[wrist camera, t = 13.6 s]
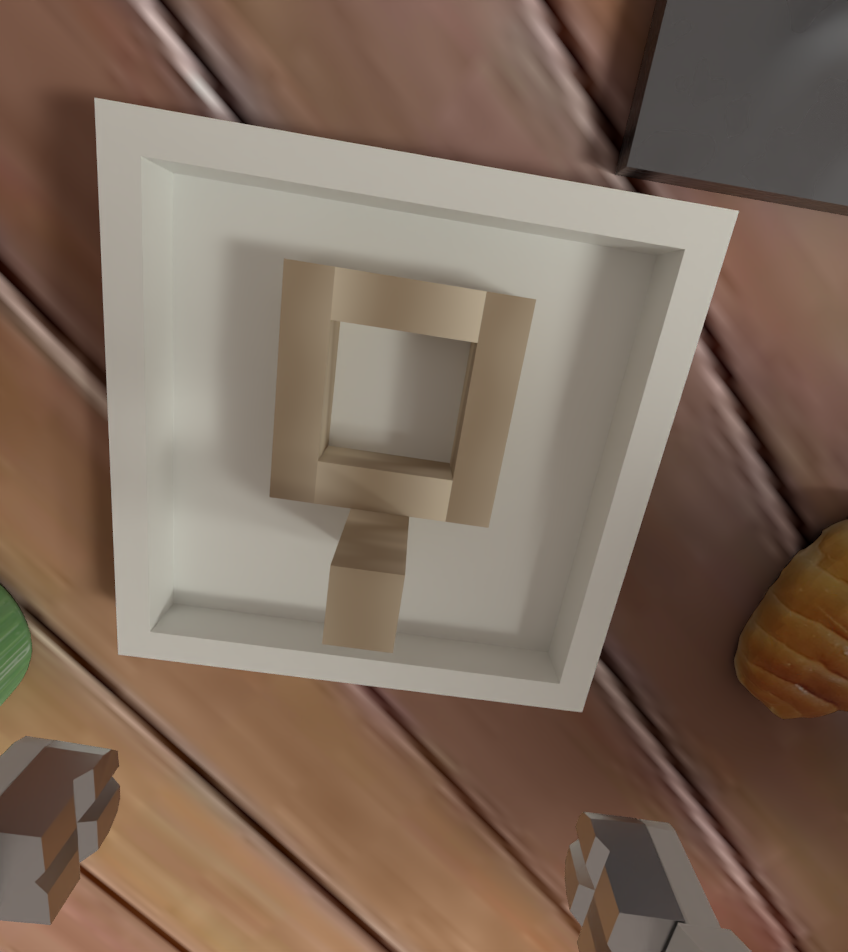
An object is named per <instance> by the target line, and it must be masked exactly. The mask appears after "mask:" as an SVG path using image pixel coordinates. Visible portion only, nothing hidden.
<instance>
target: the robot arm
mask: <svg viewBox="0 0 848 952" xmlns="http://www.w3.org/2000/svg"><path fill="white" fill-rule="evenodd" d="M118 767H119V760H118V751H116V750H112V749H106V748H100V747H94V746H88V745H82V744H76V743H69V742H63V741H57V740H49V739H43V738H36V737H30V736H25V737H23V738H22V739H20V740H18V741H16V742H14V743H13V744H12V745H11V746H10V747H9V748H8V749H7V750H6V751H5V752H4V753H3V754H2V755H1V756H0V920H2V921H13V922H24V923H35V924H46V925H51V924H52V922H53V920H54V919H55V917H56V916H57V914H58V913H59V911H60V909H61V908H62V906H63V905H64V903H65V902H66V900H67V898H68V897H69V895H70V894H71V892H72V890H73V889H74V887H75V886H76V884H77V883H78V881H79V879H80V862H81V861H83V860H84V859H86V858H87V857H88V856H90V855H91V854H93V853H94V852H96V851H97V850H98V849H99V848H100V846H101V844H102V843H103V841H104V839H105V838H106V836H107V834H108V833H109V831H110V828H111V826H112V824H113V821H114V819H115V816H116V814H117V811H118V806H119V801H120V785H119V784H118V783H117V782H116V781H115V779H114V778H113V777H112V775H113V774H114V773H115V771H116V770H117V768H118ZM576 831H577V835H578V840H577V841H575V842H574V843H572V844H571V845H570V846H569V849H568V852H567V856H566V860H565V887H566V895H567V900H568V904H569V909H570V912H571V913H572V914H573V916H574V917H575V918H576V920H577V921H578V922H579V923H580V925H581V926H582V929H581V932H580V935H579V937H578V940H577V945H578V949H579V952H752V951H751V950H750V949H749V948H748V947H747V946H746V945H745V944H744V943H743V942H742V941H741V940H740V939H739V938H738V937H737V936H736V935H735V934H734V933H733V932H732V931H731V930H729V929H723V928H721V927H720V925H719V923H718V921H717V919H716V916H715V914H714V912H713V910H712V908H711V906H710V904H709V902H708V899H707V897H706V895H705V893H704V891H703V889H702V887H701V885H700V882H699V880H698V878H697V876H696V874H695V872H694V870H693V868H692V865H691V863H690V861H689V859H688V857H687V855H686V853H685V851H684V848H683V846H682V844H681V842H680V840H679V838H678V836H677V834H676V832H675V829H674V828H673V827H672V826H671V825H670V824H669V823H665V822H657V821H650V820H642V819H639V820H638V819H637V818H631V817H622V816H614V815H606V814H597V813H589V812H583V813H582V814H581V815H580V816H579V818H578V821H577V824H576Z"/></svg>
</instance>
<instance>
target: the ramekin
mask: <svg viewBox="0 0 848 952" xmlns="http://www.w3.org/2000/svg"><path fill="white" fill-rule="evenodd" d="M31 653H32V642H31V634H30V631H29V628H28V625H27V622H26V620H25V617H24V615H23V613H22V611H21V610H20V608H19V606H18V605H17V603H16V602H15V601H14V599H13V598H12V597H11V595H10V594H9V593H8V592H7V591H6V590H5V589H4V588H3V587H2V586H1V585H0V706H1V705H2V704H3V702H4V701H5V700H6V699H7V698H8V697H9V696H10V694H11V693H12V692H13V691H14V690H15V689H16V687H17V686H18V685H19V683H20V682H21V680H22V679H23V677H24V675H25V673H26V671H27V669H28V666H29V662H30V659H31Z"/></svg>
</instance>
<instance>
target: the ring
mask: <svg viewBox="0 0 848 952" xmlns="http://www.w3.org/2000/svg"><path fill="white" fill-rule="evenodd" d="M535 303H536V299H531V298H524V297H518V296H512V295H506V294H500V293H494V292H488V291H481V290H475V289H469V288H463V287H457V286H451V285H445V284H438V283H432V282H426V281H420V280H414V279H408V278H401V277H395V276H389V275H383V274H377V273H371V272H365V271H358V270H352V269H346V268H340V267H334V266H328V265H321V264H315V263H309V262H303V261H297V260H291V259H285V258H284V263H283V279H282V296H281V312H280V329H279V346H278V362H277V379H276V395H275V412H274V429H273V445H272V462H271V478H270V495H269V497H272V498H279V499H286V500H294V501H301V502H308V503H315V504H322V505H329V506H336V507H344V508H351V509H350V512H349V515H348V518H347V520H346V523H345V526H344V529H343V532H342V534H341V537H340V540H339V543H338V545H337V548H336V551H335V554H334V557H333V559H332V562H331V565H330V573H329V583H328V592H327V602H326V611H325V621H324V630H323V640H322V644H324V645H332V646H340V647H348V648H356V649H364V650H371V651H379V652H387V653H393V649H394V642H395V636H396V630H397V623H398V617H399V611H400V605H401V598H402V592H403V586H404V579H405V570H406V555H407V541H408V526H409V517H415V518H422V519H429V520H436V521H444V522H451V523H458V524H465V525H472V526H479V527H486V528H489V523H490V518H491V513H492V508H493V504H494V499H495V494H496V489H497V485H498V480H499V475H500V470H501V466H502V461H503V456H504V451H505V446H506V442H507V437H508V432H509V427H510V423H511V418H512V413H513V408H514V403H515V399H516V394H517V389H518V384H519V380H520V375H521V370H522V365H523V360H524V356H525V351H526V346H527V341H528V337H529V332H530V327H531V322H532V317H533V313H534V308H535ZM340 321H341V322H347V323H354V324H360V325H366V326H373V327H379V328H386V329H392V330H398V331H405V332H411V333H417V334H424V335H430V336H436V337H443V338H449V339H455V340H462V341H468V342H471V346H470V351H469V357H468V363H467V368H466V374H465V380H464V385H463V391H462V397H461V402H460V408H459V414H458V420H457V425H456V431H455V437H454V442H453V448H452V454H451V459H450V463H445V462H439V461H432V460H425V459H418V458H411V457H404V456H397V455H391V454H384V453H377V452H370V451H363V450H356V449H349V448H343V447H336V446H329V434H330V424H331V414H332V403H333V393H334V382H335V372H336V362H337V351H338V341H339V330H340Z"/></svg>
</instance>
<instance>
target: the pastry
mask: <svg viewBox="0 0 848 952" xmlns="http://www.w3.org/2000/svg"><path fill="white" fill-rule="evenodd" d="M734 666H735V670H736V674H737V677H738V680H739V681H740V682H741V684H743V685H744V686H745V687H746V688H747V690H748V691H749V692H750V693H751V694H752V695H753V696H754V697H756V698H757V699H758V700H760V701H761V702H762V703H763V704H764V705H765V706H766V707H767V708H768V709H769V710H770V711H771V712H773V713H774V714H775V715H777V716H778V717H780V718H782V719H791V718H800V717H804V718H813V717H820V716H824V715H827V714H830V713H833V712H836V711H838V710H843V711H848V519H846V520H843V521H840V522H838V523H835V524H833V525H831V526H829V527H828V528H826V529H824V530H823V531H822V535H821V536H820V537H819V538H818V539H817V540H816V541H815V542H814V543H812V544H811V545H810V546H808V547H807V548H805V549H803V550H800V551H799V552H798V553H797V554H796V555H795V556H794V558H793V559H792V560H791V562H790V563H789V564H788V565H787V566H786V567H785V568H784V569H783V570H782V571H781V575H780V577H779V578H778V580H777V581H776V582H775V583H774V584H773V585H772V586H771V587H770V588H769V589H768V591H767V593H766V595H765V597H764V598H763V600H762V601H761V602H760V604H759V606H758V607H757V608H756V609H755V611H754V612H753V614H752V615H751V617H750V619H749V620H748V622H747V624H746V625H745V627H744V629H743V631H742V633H741V635H740V637H739V643H738V649H737V652H736V655H735V658H734Z"/></svg>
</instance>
